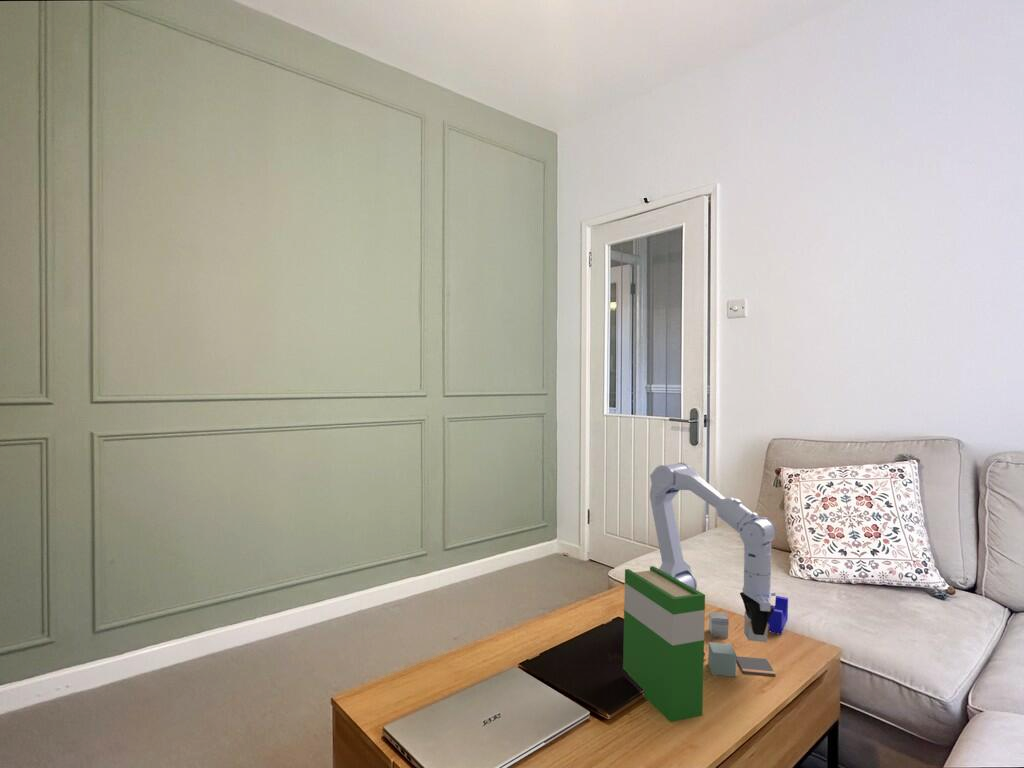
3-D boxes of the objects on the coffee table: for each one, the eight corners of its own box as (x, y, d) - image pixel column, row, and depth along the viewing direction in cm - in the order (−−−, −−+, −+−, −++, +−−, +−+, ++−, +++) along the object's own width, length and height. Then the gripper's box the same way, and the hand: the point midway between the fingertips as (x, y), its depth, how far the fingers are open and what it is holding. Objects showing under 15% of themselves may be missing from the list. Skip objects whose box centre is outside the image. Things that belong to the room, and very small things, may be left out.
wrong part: (711, 637, 147) (712, 617, 147) (708, 630, 151) (709, 611, 151) (728, 638, 146) (728, 619, 146) (724, 631, 150) (725, 612, 150)
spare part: (767, 642, 130) (767, 620, 129) (748, 640, 130) (748, 618, 130) (762, 633, 134) (762, 612, 133) (743, 632, 134) (744, 611, 134)
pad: (742, 672, 129) (742, 670, 129) (735, 657, 136) (735, 655, 136) (775, 675, 128) (775, 673, 128) (766, 660, 135) (766, 658, 135)
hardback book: (622, 676, 127) (625, 569, 126) (651, 671, 129) (653, 566, 129) (670, 722, 110) (673, 599, 110) (702, 715, 113) (705, 594, 112)
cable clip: (770, 615, 161) (770, 594, 161) (787, 619, 159) (788, 597, 159) (762, 630, 151) (763, 608, 151) (781, 635, 149) (781, 612, 149)
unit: (712, 674, 128) (712, 652, 128) (708, 662, 133) (708, 641, 133) (735, 676, 127) (736, 654, 127) (730, 664, 133) (730, 643, 133)
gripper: (785, 584, 124) (784, 645, 124) (766, 562, 138) (765, 618, 138) (751, 581, 125) (750, 643, 125) (736, 560, 139) (734, 615, 139)
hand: (755, 629), depth 132 cm, fingers closed on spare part, 4 cm apart
